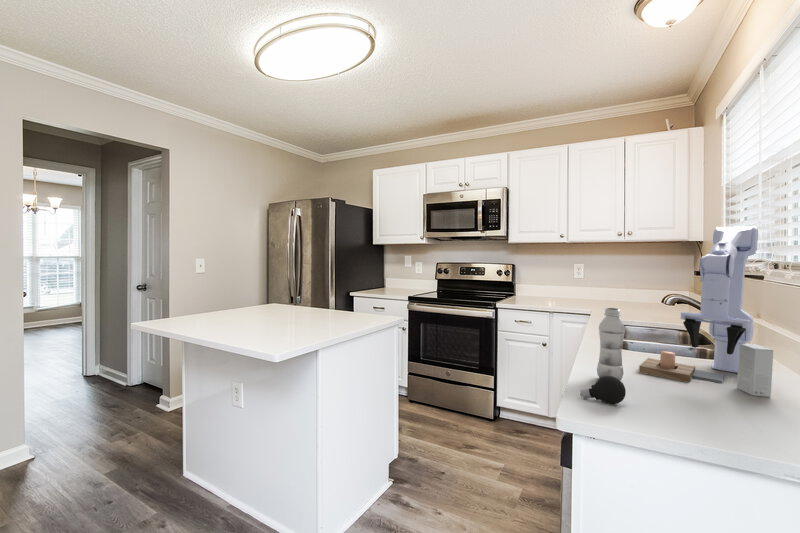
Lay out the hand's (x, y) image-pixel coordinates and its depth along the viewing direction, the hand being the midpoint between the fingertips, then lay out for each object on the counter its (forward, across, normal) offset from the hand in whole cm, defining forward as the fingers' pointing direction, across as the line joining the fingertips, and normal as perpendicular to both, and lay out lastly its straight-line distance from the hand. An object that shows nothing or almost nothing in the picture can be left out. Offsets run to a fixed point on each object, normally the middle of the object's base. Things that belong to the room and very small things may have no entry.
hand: (712, 350), depth 103 cm
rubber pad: (+10, -4, +9) cm, 14 cm away
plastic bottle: (+10, -16, -20) cm, 27 cm away
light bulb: (+10, -8, -36) cm, 39 cm away
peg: (+10, -12, +3) cm, 16 cm away
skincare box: (+10, +8, +5) cm, 14 cm away
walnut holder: (+10, -12, +3) cm, 16 cm away
